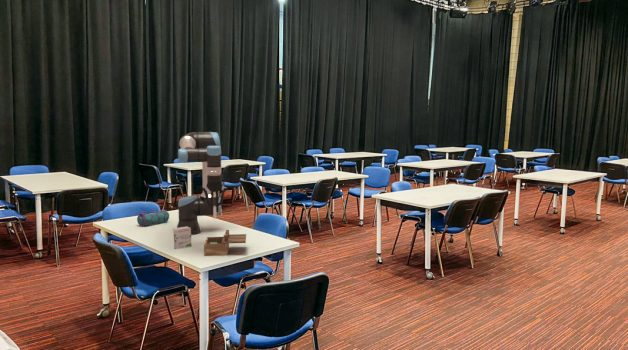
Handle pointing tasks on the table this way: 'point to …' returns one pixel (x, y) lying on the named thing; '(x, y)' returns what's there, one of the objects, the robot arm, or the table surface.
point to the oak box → (215, 247)
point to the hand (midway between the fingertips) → (215, 217)
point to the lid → (233, 238)
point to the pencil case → (153, 218)
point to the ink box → (182, 237)
